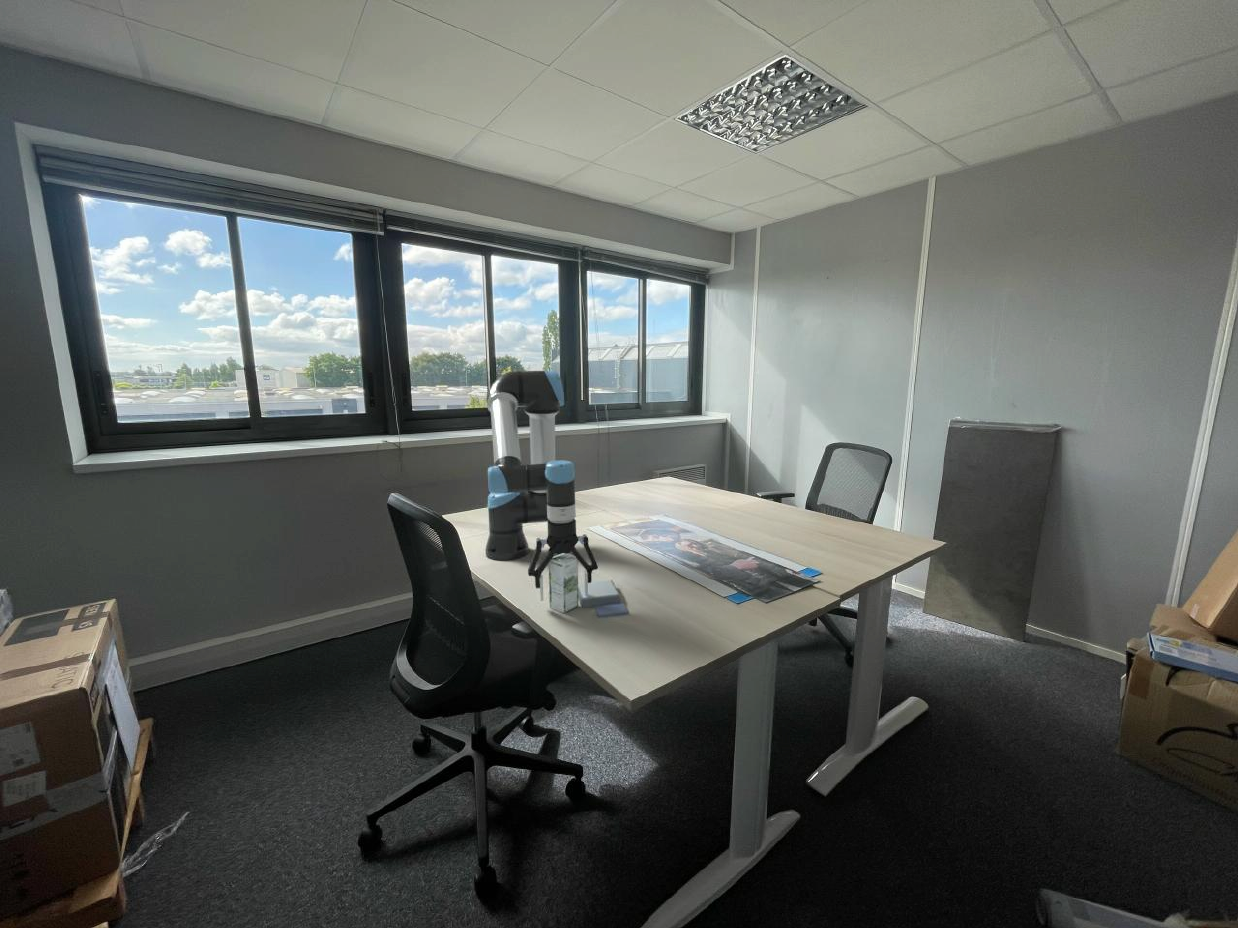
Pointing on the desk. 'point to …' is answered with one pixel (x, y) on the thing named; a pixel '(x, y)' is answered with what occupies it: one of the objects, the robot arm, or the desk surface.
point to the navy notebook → (611, 610)
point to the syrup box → (563, 582)
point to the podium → (598, 594)
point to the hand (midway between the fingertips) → (564, 596)
